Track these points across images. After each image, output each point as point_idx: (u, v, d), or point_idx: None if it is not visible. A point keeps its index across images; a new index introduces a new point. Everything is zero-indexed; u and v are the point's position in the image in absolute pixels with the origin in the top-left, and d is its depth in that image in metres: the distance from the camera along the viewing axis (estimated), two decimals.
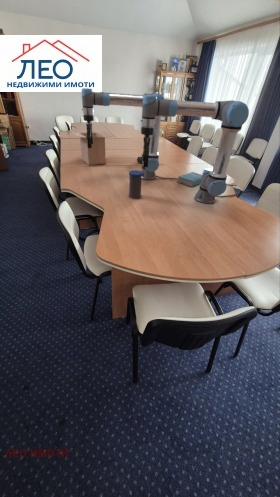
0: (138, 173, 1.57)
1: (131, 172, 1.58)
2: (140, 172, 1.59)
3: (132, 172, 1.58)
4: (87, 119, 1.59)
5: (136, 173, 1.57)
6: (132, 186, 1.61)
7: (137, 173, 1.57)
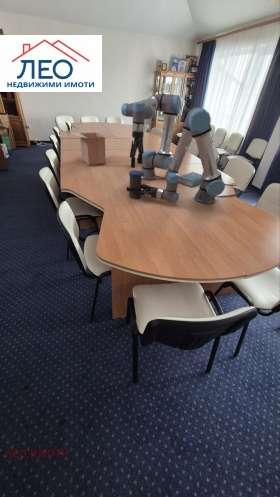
0: (138, 173, 1.57)
1: (131, 172, 1.58)
2: (140, 172, 1.59)
3: (132, 172, 1.58)
4: (134, 136, 1.42)
5: (136, 173, 1.57)
6: (132, 186, 1.61)
7: (137, 173, 1.57)
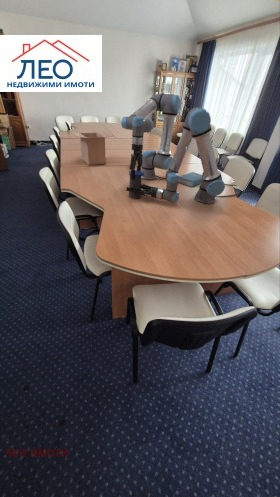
0: (138, 173, 1.57)
1: None
2: (140, 172, 1.59)
3: None
4: (134, 149, 1.46)
5: (136, 173, 1.57)
6: (132, 186, 1.61)
7: (137, 173, 1.57)
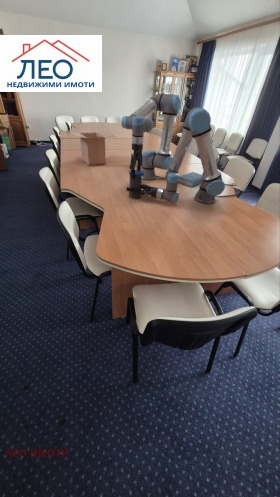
0: (137, 171, 1.60)
1: (138, 173, 1.56)
2: None
3: (138, 173, 1.57)
4: (134, 148, 1.46)
5: (138, 171, 1.59)
6: (132, 186, 1.61)
7: (138, 171, 1.60)
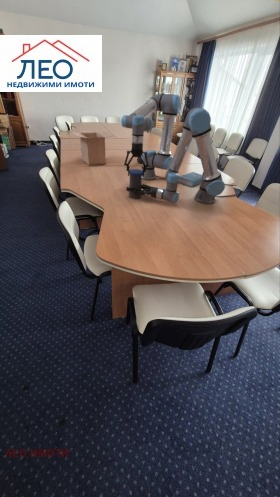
0: (132, 170, 1.58)
1: (138, 170, 1.60)
2: (133, 172, 1.56)
3: (138, 170, 1.60)
4: (142, 147, 1.48)
5: (133, 170, 1.59)
6: (132, 186, 1.61)
7: (132, 170, 1.59)
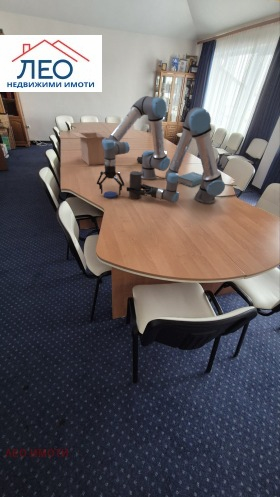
0: (106, 193, 1.66)
1: (113, 192, 1.68)
2: (107, 194, 1.64)
3: (112, 192, 1.68)
4: (115, 169, 1.55)
5: (108, 192, 1.67)
6: (132, 186, 1.61)
7: (107, 193, 1.67)
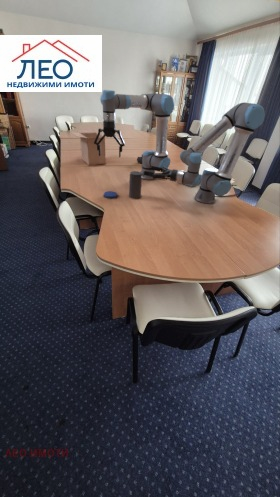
0: (106, 193, 1.66)
1: (113, 192, 1.68)
2: (107, 194, 1.64)
3: (112, 192, 1.68)
4: (114, 126, 1.39)
5: (108, 192, 1.67)
6: (132, 186, 1.61)
7: (107, 193, 1.67)
